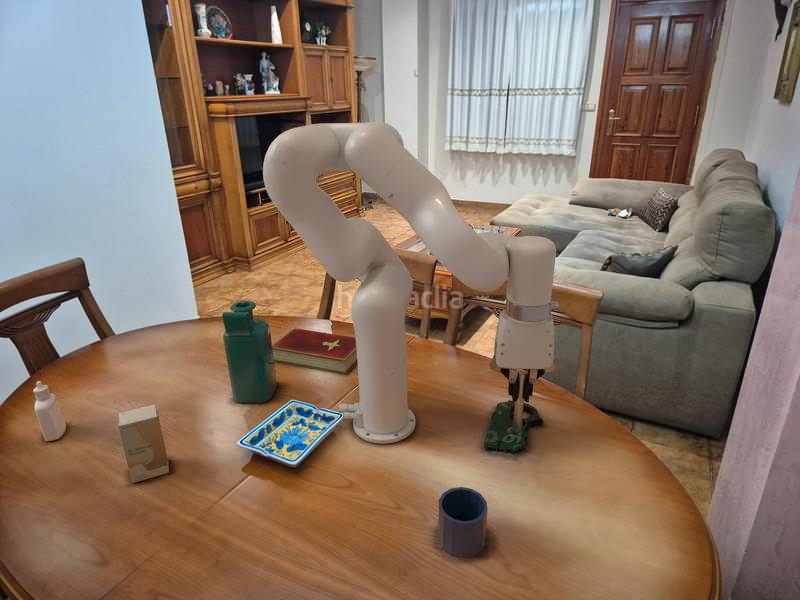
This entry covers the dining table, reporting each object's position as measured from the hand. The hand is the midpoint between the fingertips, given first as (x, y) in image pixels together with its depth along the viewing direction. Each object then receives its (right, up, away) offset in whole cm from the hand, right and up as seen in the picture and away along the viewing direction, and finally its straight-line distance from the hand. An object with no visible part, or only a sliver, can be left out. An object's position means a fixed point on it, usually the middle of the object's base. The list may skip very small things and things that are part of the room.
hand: (519, 397), depth 96 cm
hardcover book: (-43, +4, +35) cm, 55 cm away
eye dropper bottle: (-92, -9, +7) cm, 92 cm away
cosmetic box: (-67, -13, -4) cm, 69 cm away
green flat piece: (0, -8, +5) cm, 10 cm away
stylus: (0, -7, +3) cm, 8 cm away
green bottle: (-55, -3, +19) cm, 58 cm away
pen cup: (-13, -18, -19) cm, 29 cm away
